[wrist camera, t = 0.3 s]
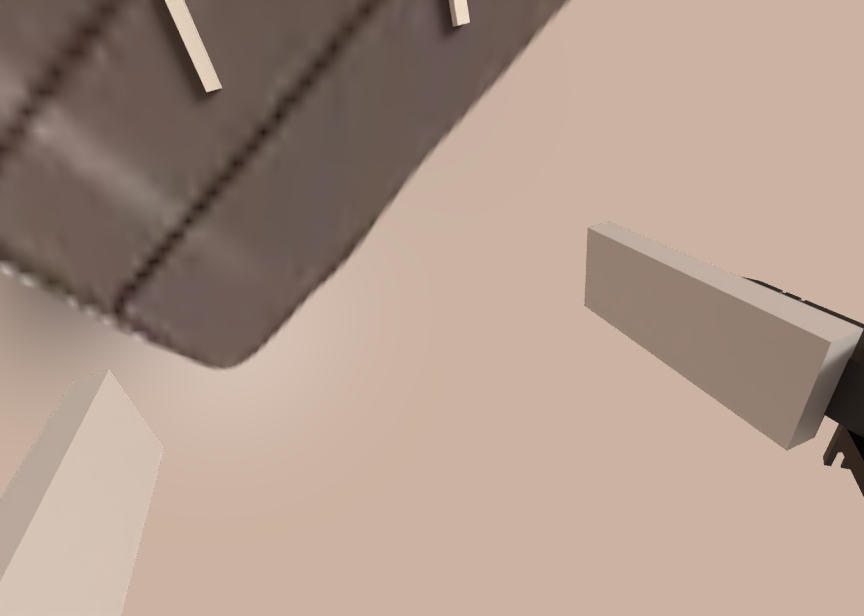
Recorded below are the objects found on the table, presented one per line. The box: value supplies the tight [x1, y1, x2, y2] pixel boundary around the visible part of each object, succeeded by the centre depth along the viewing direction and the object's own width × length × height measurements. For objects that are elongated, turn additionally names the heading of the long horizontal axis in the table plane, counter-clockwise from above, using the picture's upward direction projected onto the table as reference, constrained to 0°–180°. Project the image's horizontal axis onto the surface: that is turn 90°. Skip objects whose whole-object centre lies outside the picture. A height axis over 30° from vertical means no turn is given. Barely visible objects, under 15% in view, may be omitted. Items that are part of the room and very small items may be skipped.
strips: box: [165, 0, 470, 92], centre depth 30 cm, size 6×20×1 cm, turn 103°
